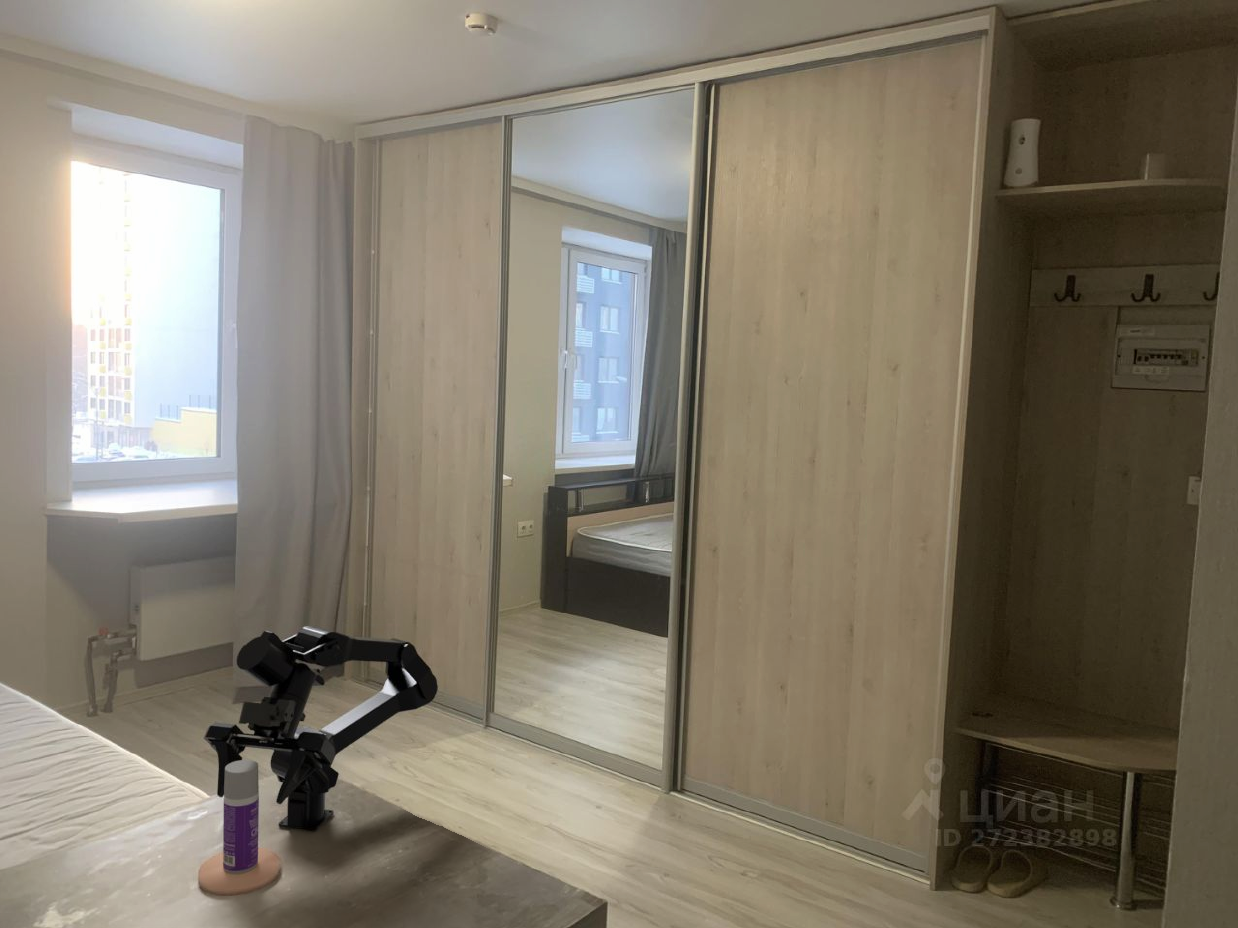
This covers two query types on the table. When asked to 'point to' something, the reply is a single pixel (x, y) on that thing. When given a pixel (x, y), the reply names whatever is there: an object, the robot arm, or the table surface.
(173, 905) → the table surface
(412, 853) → the table surface
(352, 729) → the robot arm
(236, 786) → the container
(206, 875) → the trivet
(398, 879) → the table surface
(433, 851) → the table surface
